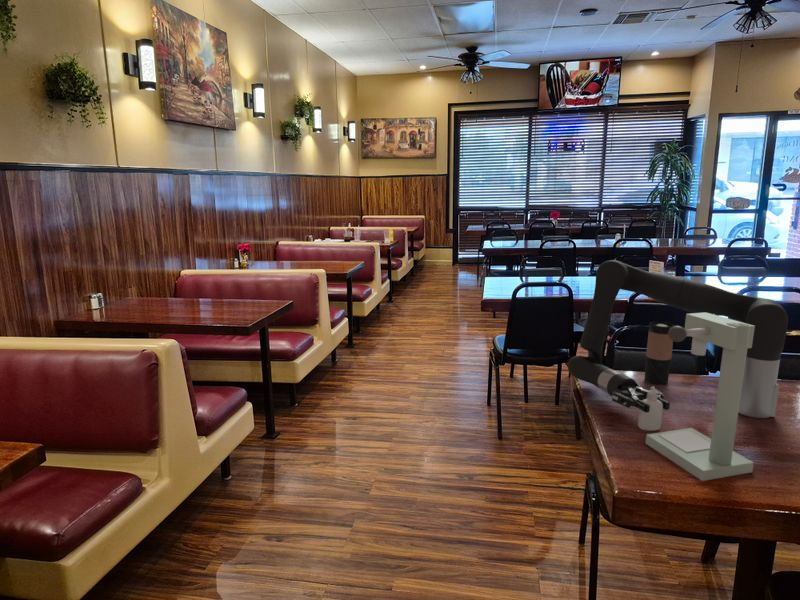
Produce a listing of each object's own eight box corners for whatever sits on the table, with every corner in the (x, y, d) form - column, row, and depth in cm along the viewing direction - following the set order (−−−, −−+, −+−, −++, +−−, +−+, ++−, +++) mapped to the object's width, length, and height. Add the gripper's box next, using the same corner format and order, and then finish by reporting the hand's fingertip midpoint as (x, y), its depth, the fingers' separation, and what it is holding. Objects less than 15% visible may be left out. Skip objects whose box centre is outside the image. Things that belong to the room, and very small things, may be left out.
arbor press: (626, 446, 129) (638, 312, 122) (690, 436, 134) (706, 307, 127) (680, 484, 112) (699, 332, 105) (752, 472, 117) (774, 325, 110)
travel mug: (658, 386, 168) (665, 328, 164) (638, 379, 175) (644, 323, 171) (673, 382, 172) (680, 325, 168) (653, 375, 179) (659, 320, 174)
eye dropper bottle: (638, 422, 142) (642, 382, 140) (661, 427, 140) (665, 386, 137) (637, 429, 139) (641, 387, 136) (660, 433, 136) (664, 391, 133)
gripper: (596, 375, 149) (636, 397, 133) (638, 371, 152) (682, 391, 136) (595, 399, 150) (634, 424, 134) (636, 394, 154) (679, 417, 138)
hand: (658, 407), depth 135 cm, fingers closed on eye dropper bottle, 5 cm apart
